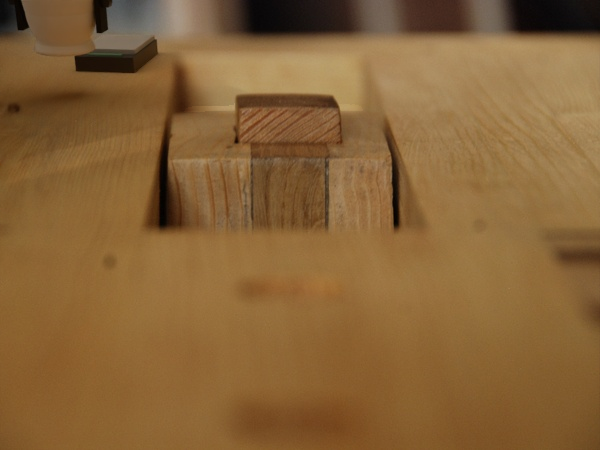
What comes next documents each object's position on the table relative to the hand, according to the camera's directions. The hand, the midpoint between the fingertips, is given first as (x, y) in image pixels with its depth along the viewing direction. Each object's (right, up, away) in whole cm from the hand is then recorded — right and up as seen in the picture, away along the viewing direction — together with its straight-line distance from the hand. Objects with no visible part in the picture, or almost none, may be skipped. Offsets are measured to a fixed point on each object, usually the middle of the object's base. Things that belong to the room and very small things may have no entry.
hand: (63, 30), depth 113 cm
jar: (0, -3, +1) cm, 3 cm away
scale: (+3, 0, +23) cm, 23 cm away
